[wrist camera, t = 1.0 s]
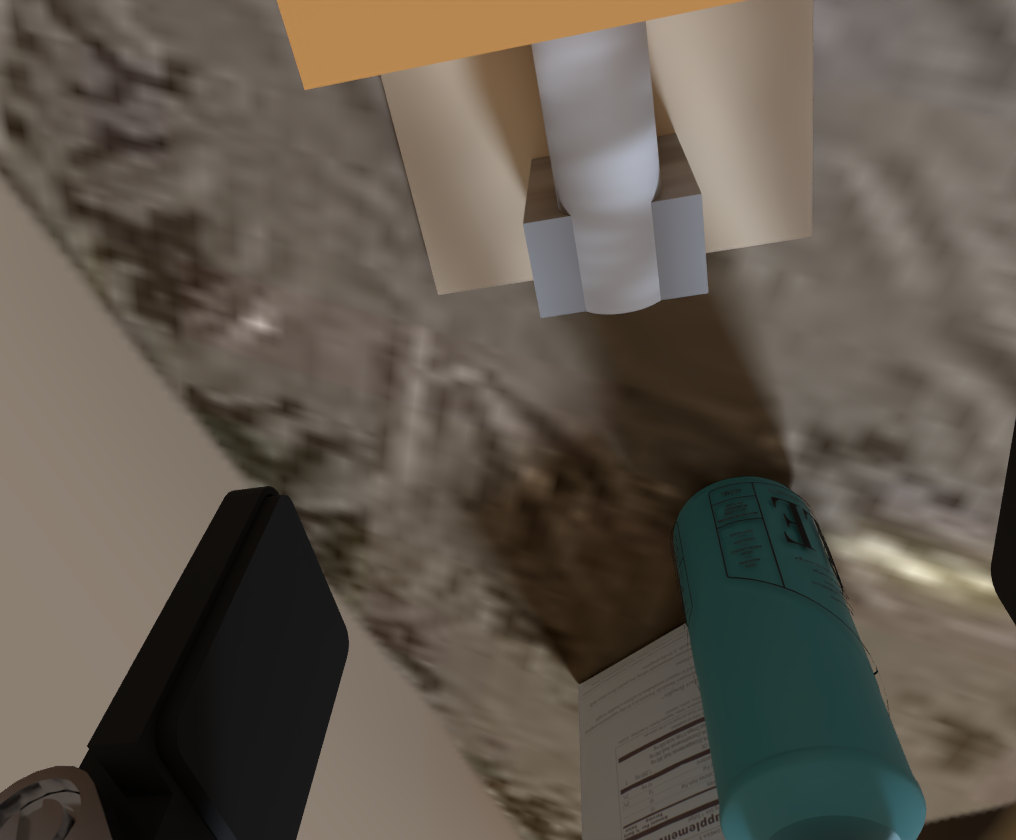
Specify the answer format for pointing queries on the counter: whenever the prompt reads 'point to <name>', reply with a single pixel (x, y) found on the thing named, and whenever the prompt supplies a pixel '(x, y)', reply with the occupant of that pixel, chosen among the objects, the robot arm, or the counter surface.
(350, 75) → the brown slab
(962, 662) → the counter surface
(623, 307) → the pipe rig
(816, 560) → the beverage bottle
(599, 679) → the supplement box
